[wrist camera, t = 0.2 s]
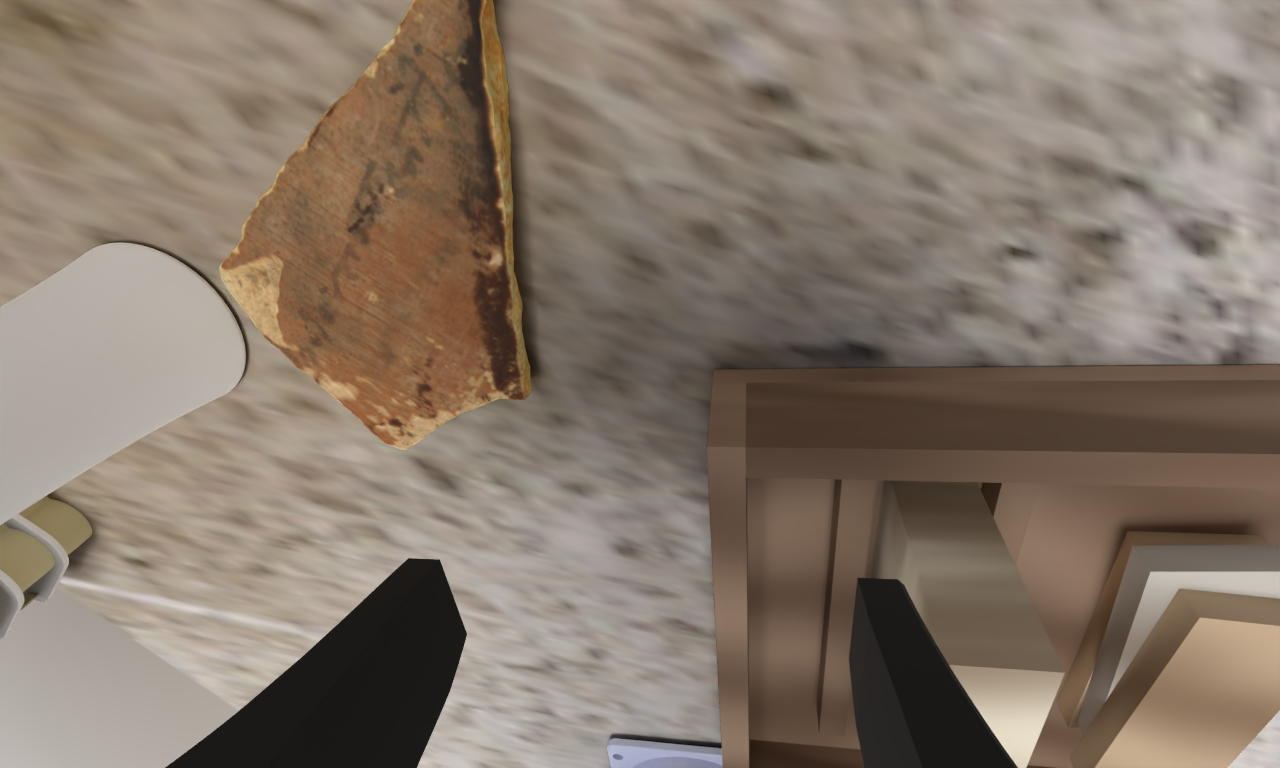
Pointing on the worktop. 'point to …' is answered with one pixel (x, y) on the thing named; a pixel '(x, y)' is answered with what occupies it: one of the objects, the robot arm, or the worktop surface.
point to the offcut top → (1192, 687)
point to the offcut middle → (1153, 588)
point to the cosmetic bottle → (105, 364)
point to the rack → (952, 452)
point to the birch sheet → (971, 603)
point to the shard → (399, 234)
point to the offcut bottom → (1095, 632)
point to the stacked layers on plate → (36, 554)
